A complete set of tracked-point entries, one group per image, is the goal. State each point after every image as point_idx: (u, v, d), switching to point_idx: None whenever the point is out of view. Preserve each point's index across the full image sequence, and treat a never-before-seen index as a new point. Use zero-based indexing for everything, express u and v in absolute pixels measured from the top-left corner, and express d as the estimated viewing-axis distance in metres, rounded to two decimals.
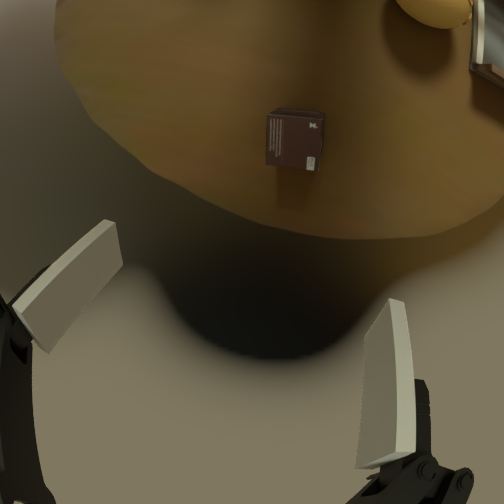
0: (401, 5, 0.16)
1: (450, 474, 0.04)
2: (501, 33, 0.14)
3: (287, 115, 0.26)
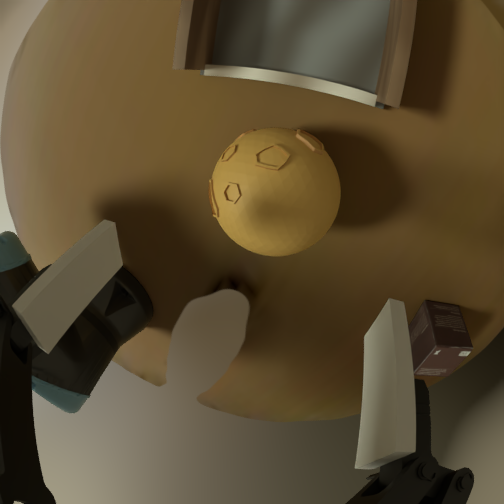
0: None
1: (450, 474, 0.04)
2: (287, 30, 0.17)
3: (419, 364, 0.25)
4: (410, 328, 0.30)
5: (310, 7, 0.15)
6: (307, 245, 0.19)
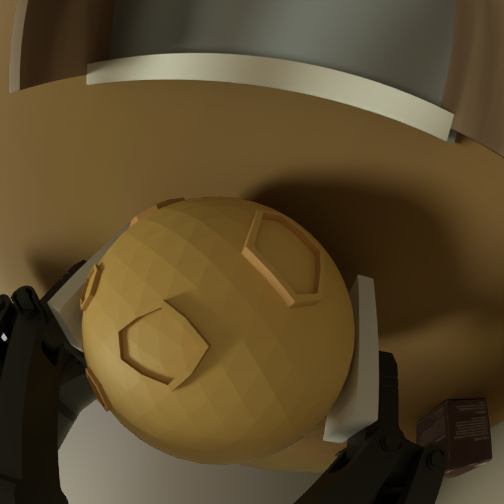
0: None
1: (418, 453, 0.05)
2: None
3: None
4: (422, 425, 0.19)
5: None
6: None
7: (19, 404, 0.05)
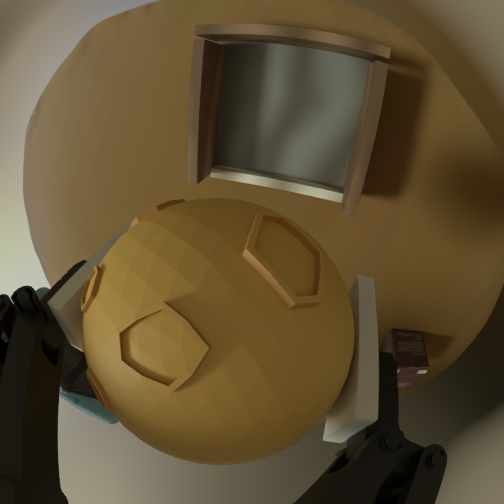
0: None
1: (418, 452, 0.05)
2: (275, 138, 0.26)
3: None
4: (381, 350, 0.39)
5: (292, 115, 0.25)
6: None
7: (19, 404, 0.05)
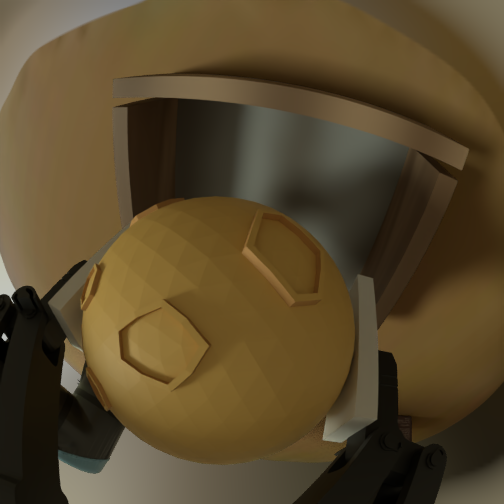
0: None
1: (417, 452, 0.05)
2: None
3: None
4: None
5: None
6: None
7: (19, 404, 0.05)
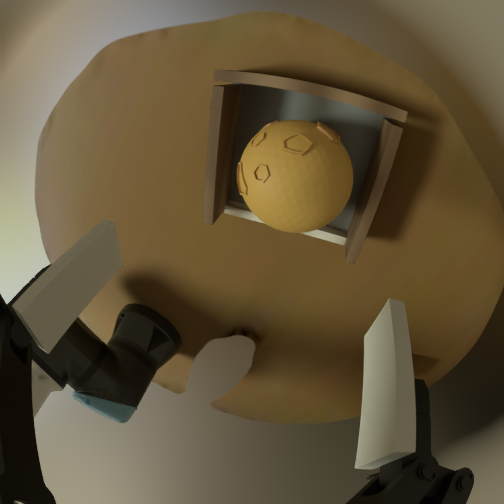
0: None
1: (450, 474, 0.04)
2: None
3: None
4: None
5: None
6: (324, 223, 0.21)
7: None
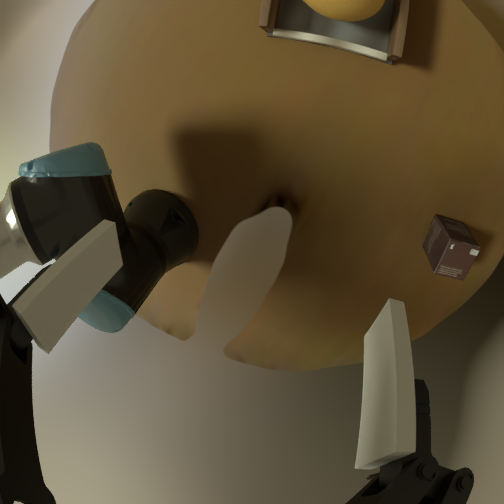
0: (368, 17, 0.19)
1: (450, 474, 0.04)
2: None
3: (439, 260, 0.31)
4: (426, 241, 0.36)
5: None
6: None
7: None
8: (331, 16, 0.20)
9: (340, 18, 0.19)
